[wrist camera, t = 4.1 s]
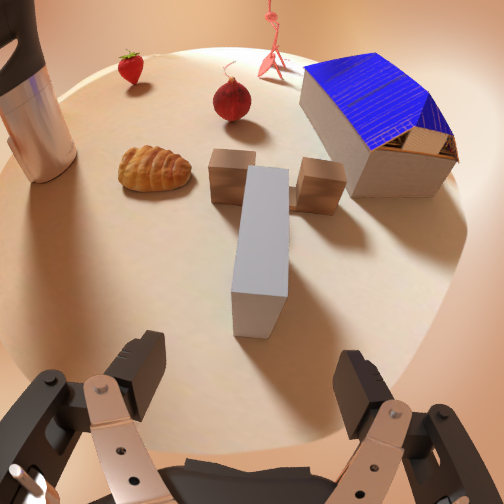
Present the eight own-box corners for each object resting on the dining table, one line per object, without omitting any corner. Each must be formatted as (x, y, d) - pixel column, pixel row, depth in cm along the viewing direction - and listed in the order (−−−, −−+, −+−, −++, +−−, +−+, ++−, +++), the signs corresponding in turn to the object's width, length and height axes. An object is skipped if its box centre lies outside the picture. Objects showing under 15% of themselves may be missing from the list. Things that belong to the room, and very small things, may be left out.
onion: (257, 124, 40) (260, 80, 33) (225, 134, 38) (225, 87, 31) (237, 109, 42) (239, 69, 35) (207, 118, 40) (205, 76, 33)
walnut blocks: (211, 202, 30) (208, 166, 26) (215, 184, 32) (213, 148, 27) (332, 215, 30) (347, 181, 26) (330, 196, 32) (342, 163, 27)
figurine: (290, 59, 60) (300, -48, 30) (282, 92, 47) (296, -64, 17) (236, 54, 61) (237, -50, 31) (208, 86, 48) (203, -63, 18)
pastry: (199, 164, 34) (196, 141, 31) (182, 201, 31) (176, 177, 28) (138, 158, 35) (132, 138, 31) (116, 192, 31) (107, 171, 28)
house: (434, 199, 34) (483, 122, 21) (348, 200, 32) (393, 92, 19) (369, 111, 47) (389, 47, 33) (296, 104, 45) (309, 29, 31)
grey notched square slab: (268, 338, 23) (287, 296, 14) (233, 335, 23) (231, 291, 14) (273, 242, 28) (288, 169, 19) (244, 239, 28) (248, 165, 19)
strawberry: (118, 93, 47) (110, 56, 39) (126, 81, 51) (120, 47, 42) (143, 88, 48) (136, 49, 39) (148, 76, 52) (144, 41, 43)
